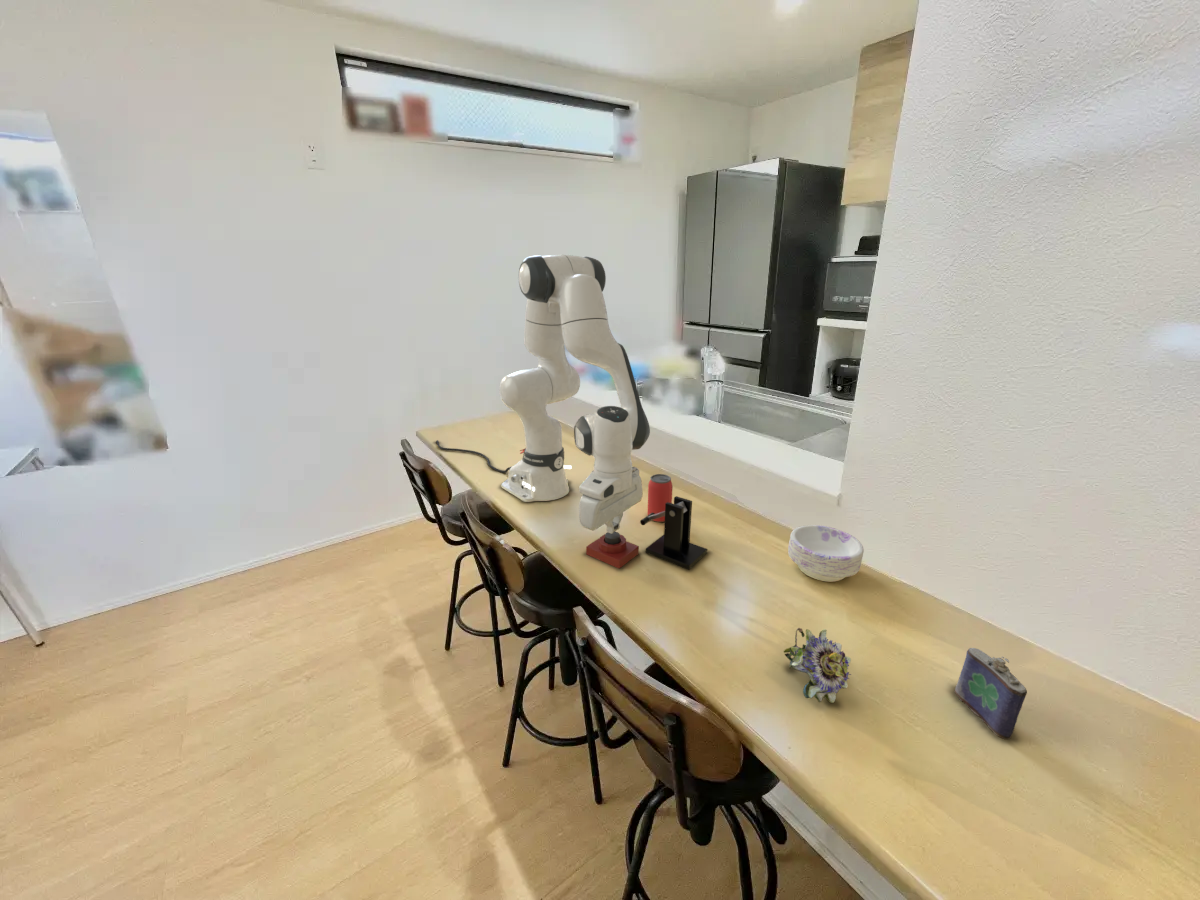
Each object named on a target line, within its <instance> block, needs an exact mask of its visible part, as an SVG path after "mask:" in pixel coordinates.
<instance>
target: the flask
mask: <svg viewBox="0 0 1200 900" xmlns="http://www.w3.org/2000/svg"><path fill="white" fill-rule="evenodd" d="M1007 663H1010V660H1009V658H1006V657H1004V656H1001V657H995V656H990V655H989V654H987V653H986V652H984V651H983V650H981V649H979V648H975V647H969V648H968V649H967V651H966V654H965V659H964V662H963V665H962V669H961V671H960V674H959V677H958V680H957V683H956V685H955V689H954V693H955V695H956V697H957V698H958V699H959V701H960V702H963V703H964V704H965V705H966V706H967V708H968V709H969V710H970V711H971V712H972V713H973V714H974V715H976V716H977V717H979V718H980V721H981V722H983V723H985V724H986V725H987V728H989V729H990V730H991V731H992V732H993V734H994V735H995V736H997V737H1000V738H1001V739H1003V740H1010V739H1011V738H1012V735H1013V733H1014V730H1015V727H1016V725H1017V722H1018V718H1019V716H1020V712H1021V710H1022V707H1023V703H1024V702H1025V699H1026V696H1027V694H1028V690H1027V688H1026V687H1025V685H1024V684H1023V683H1021V681H1019V679H1018V678H1017V677H1016V676H1015V674H1013V673H1012V672H1011V669H1010V668H1009V667H1008V666H1007V665H1006V664H1007Z"/></svg>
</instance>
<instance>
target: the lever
mask: <svg viewBox="0 0 1200 900" xmlns="http://www.w3.org/2000/svg"><path fill="white" fill-rule="evenodd" d="M675 505H679V506H682V507H684V513H685V512H686V511H687V508H686V506H685V504H684V502H680V503H677V504H675ZM663 516H665V511H663V512H660V513H657V514H655V513H651V514H649V515H648V514H647V515H646V516H645V517H644V518H642V519H641V520H640V521H639V523H640V525H641V526H645V525H647V524H649V523H650V522H651V521H653V520H654V519H657V518H660V517H663Z"/></svg>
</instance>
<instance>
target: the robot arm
mask: <svg viewBox="0 0 1200 900" xmlns="http://www.w3.org/2000/svg"><path fill="white" fill-rule="evenodd" d="M606 279H607V275H606V271H605V268H604V266H603V263H602V262H601V261H599V260H598V259H596V258H595V257H590V256H579V255H573V254H555V255H554V254H551V255H541V254H536V255H531V256H527V257H524V259H523V260H522V262H521V263H520V265H519V268H518V285H519V286H518V287H519V290H520V292H521V293H522V295H523V296H524V297H525V298H526V304H525V313H524V330H523V331H524V333H523V344H524V347H525V349H526V351H527V352H529V354H531V355H532V356H534V357H536V358H537V367H534V368H527V369H526V368H525V369H520V370H516V371H514V372H512V373H509V374H507V375H504V376H503V377H502V378H501V380H500V383H499V388H498V393H499V397H500V400H501V401H502V403H503V404H504V405H505V406H506V407H507V408H508V409H510V410H511V411H513V412H514V413H515V414H516V415H517V417H518V418H519V419H520V422H521V424H522V426H523V427H522V428H523V433H524V443H525V448H523V449H520V450H519V454H520V455H521V454H523V455H522V458H521V459H520V460H518V462H516V463H515V464H514V465H512V466H509V467H506V469H505V470H504V469H503V470H501V469H499V468H496V467H495V466H493V465H492V464H491V463H490V459H489V458H488V457H487V456H486V455H485V454H484V453H482V452H479V451H475V450H470V449H464V448H463V449H461V448H450V447H443V446H441V445H440V442H439V440H438V439H437V440H436V441H435V444H436V445H437V447H438V448H439V449H441V450H443V451H451V452H452V451H454V452H455V451H456V452H463V453H470V454H475V455H478V456H481V457H483V458H484V459H485V460H486V462H487V465H488V467H489V469H492V470H494V471H495V472H498V473H502V474H506V473H508V474H507V479H505V480H503V482H502V483H501V484H500V487H501V488H502V489H503V490H505V491H506V492H508V493H510V494H511V495H513V496H514V497H516V498H517V499H519V500H521V501H522V502H523V503H531V502H548V501H549V502H550V501H555V500H558V499H559V500H560V499H561V498H563V497H565V496H567V495H568V494H569V492H570V487H569V480H568V478H567V472H566V469H567V470H571V469H572V465H565V449H564V447H563V430H562V429H563V427H562V424H561V422H560V421H559V420H558V419H557V418H555V417H554V416H551V415H550V414H548V411H547V405H550V404H555V403H560V402H564V401H566V400H568V399H570V398H572V397H574V396H576V395H577V394H578V392H579V390H580V388H581V378H580V375H579V372H578V371H577V369H576V368H574V367H573V366H572V364H570V362H569V360H568V357H567V355H566V350H567V352H568V353H569V354H570V355H571V356H572V357H573V358H574V359H576V360H578V361H580V362H582V363H585V364H589V365H592V366H595V367H598V368H601V369H603V370H604V371H606V372H607V373H608V374H609V375H610V376H611V378H612V380H613V384H614V386H615V390H616V393H617V397H618V400H619V404H620V406H617V405H616V406H615V405H605V406H601V407H599V408H598V409H597V410H595V412H594V413H589V414H585V415H583V416H582V415H581V416H580V417H579V418H578V419H577V420H576V422H575V424H574V426H573V436H574V445H575V447H576V448H577V449H578V450H579V451H581V452H582V453H583V454H585V455H587V456H589V457H590V456H593V459H594V461H593V462H594V463H593V470H591V472H590V473H589V475H588V476H587V477H586V478H585V479H584V480H583V481H582V482H581V483H580V484H579V487H578V493H579V494H581V497H580V500H579V508H578V509H579V510H578V511H579V512H578V513H579V523H580V525H581V527H583V528H584V529H587V530H589V531H596V530H598V529H599V528H600V527H602V526H604V525H605V526H606V533H607V532H608V533H611V534H612V533H614V532H618V531H619V530H620V527H621V522H622V518H623V517H624V516H623V515H624V512H626V511H627V510H629V509H631V508H632V507H634V506H635V505H637V504H638V503H640V502H641V501H642V498H643V483H642V478H641V476H640V469H639V468H638V467H637V466H633V461H632V452H633V451H635V450H636V451H637V450H640V449H641V448H642V447H643V446H644V445H645V444H646V442H647V441H648V439H649V438H650V434H651V427H650V422H649V420H648V417H647V414H646V412H645V410H644V408H643V405H642V402H641V399H640V394H639V391H638V387H637V384H636V380H635V376H634V373H633V369H632V366H631V362H630V359H629V356H628V353H627V351H626V349H625V347H624V345H622V344H621V343H619V342H618V341H617V340H616V339H615V337H614V336H613V333H612V331H611V328H610V325H609V318H608V312H607V306H606V302H605V297H604V294H603V292H604V289H605V287H606ZM565 349H566V350H565Z"/></svg>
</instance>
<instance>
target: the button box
mask: <svg viewBox="0 0 1200 900" xmlns="http://www.w3.org/2000/svg"><path fill="white" fill-rule="evenodd" d="M605 534H606V533H604V534H602V535H601V536H600V537H599V538H597V539H595V540H594V541H592V542H591V543H589V544H588V545H586V547H585V552H586V556H590V557H591V558H593V559H596V560H598V561H600V562H603V563H605V564H607V565H609V566H611V567H615V568H617V569H621V568H622V567H624V566H625V565H626V564H628V563H629V562H631V560H633V559H634V558H635V557H637V556H638V555H640V554H639V552H640V551H639V550H640V546H639V545H637V544H634V543H633V542H629V541H627V538H626V537H625V536H624V535H622V534H620V542H619V543H618V544H614V545H612V544H607V543H606V542H605Z"/></svg>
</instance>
